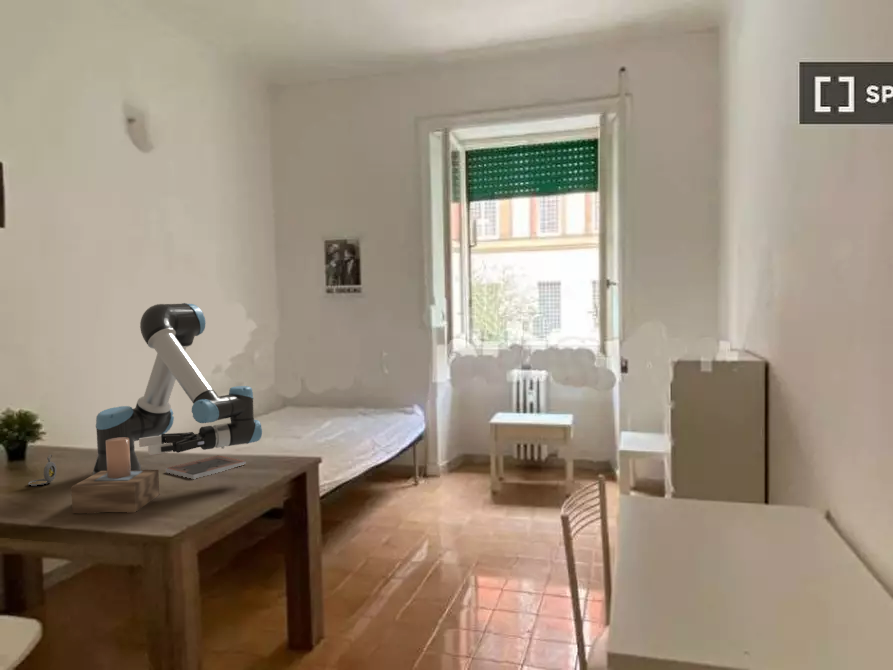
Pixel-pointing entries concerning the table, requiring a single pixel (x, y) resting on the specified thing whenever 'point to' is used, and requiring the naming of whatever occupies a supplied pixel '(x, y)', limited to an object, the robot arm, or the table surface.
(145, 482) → the walnut box
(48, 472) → the pocket watch
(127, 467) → the terracotta cylinder
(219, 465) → the picture frame
